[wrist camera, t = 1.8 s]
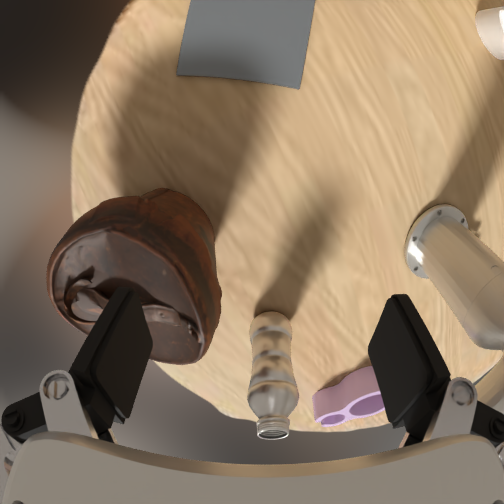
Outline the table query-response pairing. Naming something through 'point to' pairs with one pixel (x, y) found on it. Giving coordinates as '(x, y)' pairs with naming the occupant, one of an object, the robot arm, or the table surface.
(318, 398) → the clip
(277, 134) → the table surface
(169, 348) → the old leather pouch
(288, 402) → the plastic bottle
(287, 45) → the mat
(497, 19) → the cylinder with rectangular tab
